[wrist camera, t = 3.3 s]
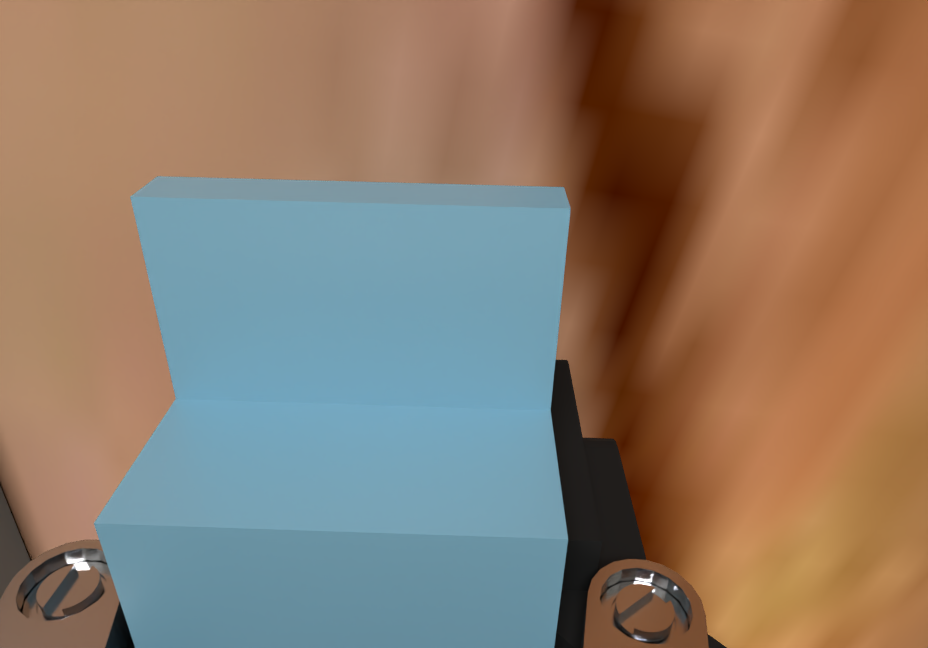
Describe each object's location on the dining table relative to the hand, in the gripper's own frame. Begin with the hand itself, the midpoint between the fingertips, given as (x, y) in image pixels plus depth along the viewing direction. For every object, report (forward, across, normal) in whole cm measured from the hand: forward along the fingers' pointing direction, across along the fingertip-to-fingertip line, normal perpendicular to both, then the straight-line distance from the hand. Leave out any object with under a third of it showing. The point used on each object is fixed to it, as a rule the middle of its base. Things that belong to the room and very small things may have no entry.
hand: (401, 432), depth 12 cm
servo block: (+2, 0, 0) cm, 2 cm away
